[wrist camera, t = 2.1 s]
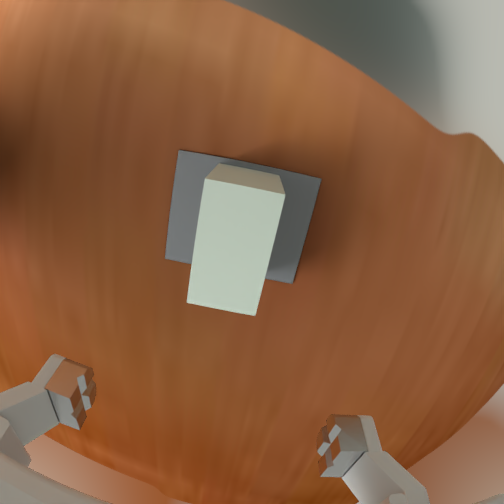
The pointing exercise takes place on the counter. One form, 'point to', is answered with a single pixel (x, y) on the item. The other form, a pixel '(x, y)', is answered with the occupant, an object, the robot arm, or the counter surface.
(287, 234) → the card
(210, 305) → the sage block
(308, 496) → the counter surface
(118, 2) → the counter surface
